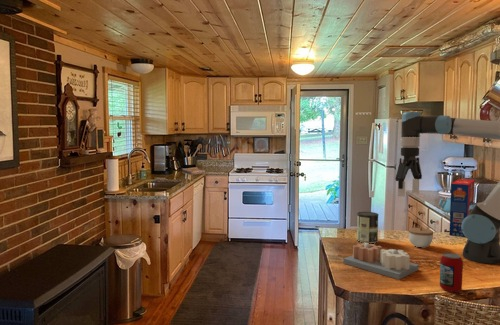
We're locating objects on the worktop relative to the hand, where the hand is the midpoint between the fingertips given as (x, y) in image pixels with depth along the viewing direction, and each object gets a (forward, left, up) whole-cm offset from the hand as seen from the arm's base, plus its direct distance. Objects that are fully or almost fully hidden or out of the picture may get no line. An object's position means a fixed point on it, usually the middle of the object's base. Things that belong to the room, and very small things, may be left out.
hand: (408, 194), depth 168 cm
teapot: (+24, -119, -27) cm, 124 cm away
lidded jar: (+1, -16, -27) cm, 31 cm away
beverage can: (-29, +28, -27) cm, 48 cm away
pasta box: (-1, -63, -27) cm, 69 cm away
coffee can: (+23, -5, -27) cm, 36 cm away
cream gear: (-7, +25, -25) cm, 36 cm away
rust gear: (+5, +25, -25) cm, 35 cm away
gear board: (-1, +25, -27) cm, 37 cm away
